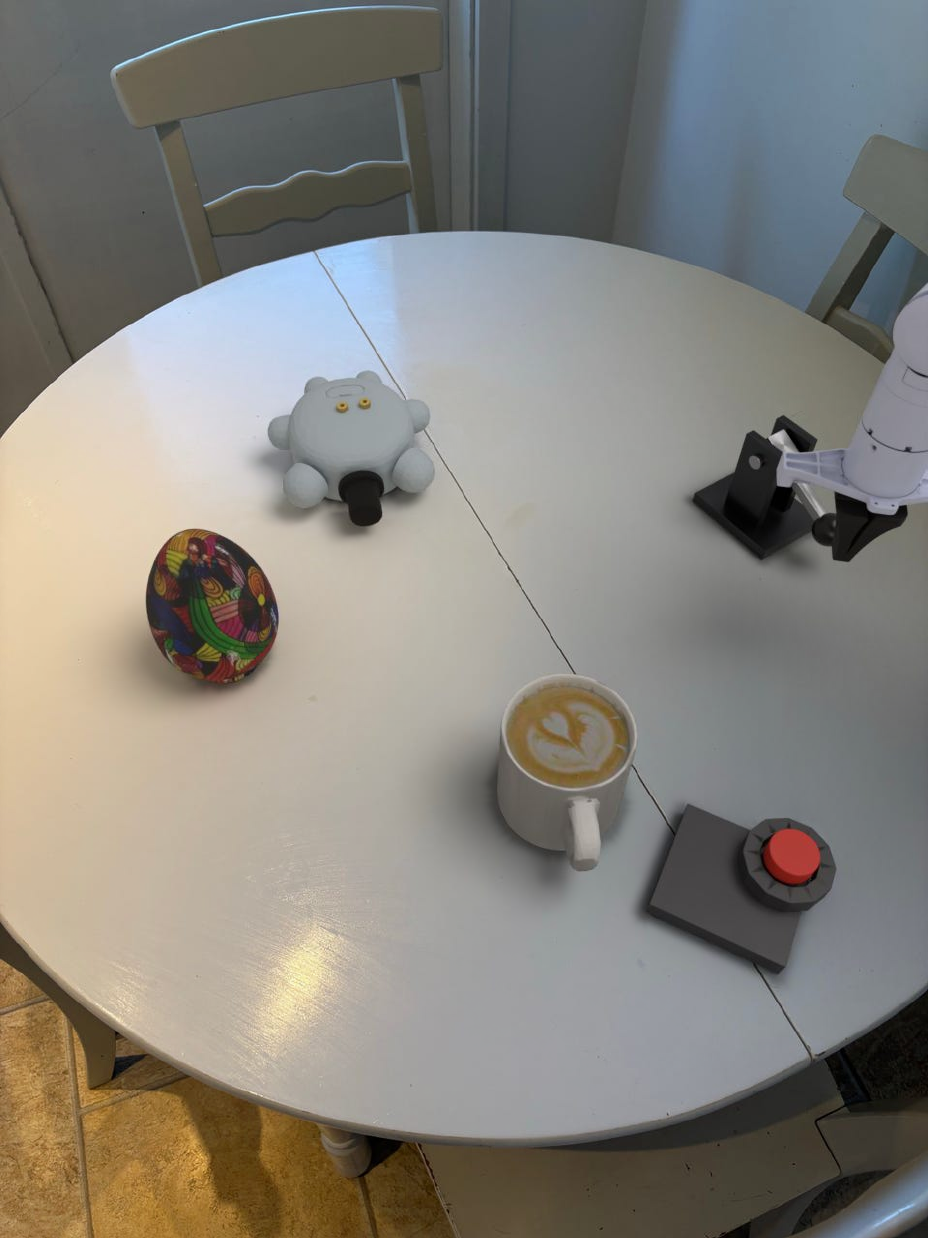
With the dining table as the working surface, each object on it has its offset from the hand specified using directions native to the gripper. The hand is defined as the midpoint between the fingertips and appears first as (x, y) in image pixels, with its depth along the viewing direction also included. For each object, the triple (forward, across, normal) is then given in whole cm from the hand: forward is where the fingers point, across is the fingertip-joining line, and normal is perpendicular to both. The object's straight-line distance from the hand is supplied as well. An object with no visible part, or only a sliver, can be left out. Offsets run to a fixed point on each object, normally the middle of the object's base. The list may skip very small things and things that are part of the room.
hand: (840, 552), depth 75 cm
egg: (+10, -52, -14) cm, 54 cm away
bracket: (+10, -5, +14) cm, 17 cm away
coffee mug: (+10, -20, -24) cm, 33 cm away
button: (+7, -3, -26) cm, 27 cm away
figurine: (+10, -47, +12) cm, 49 cm away
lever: (+5, -2, +11) cm, 12 cm away
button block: (+10, -7, -27) cm, 30 cm away
